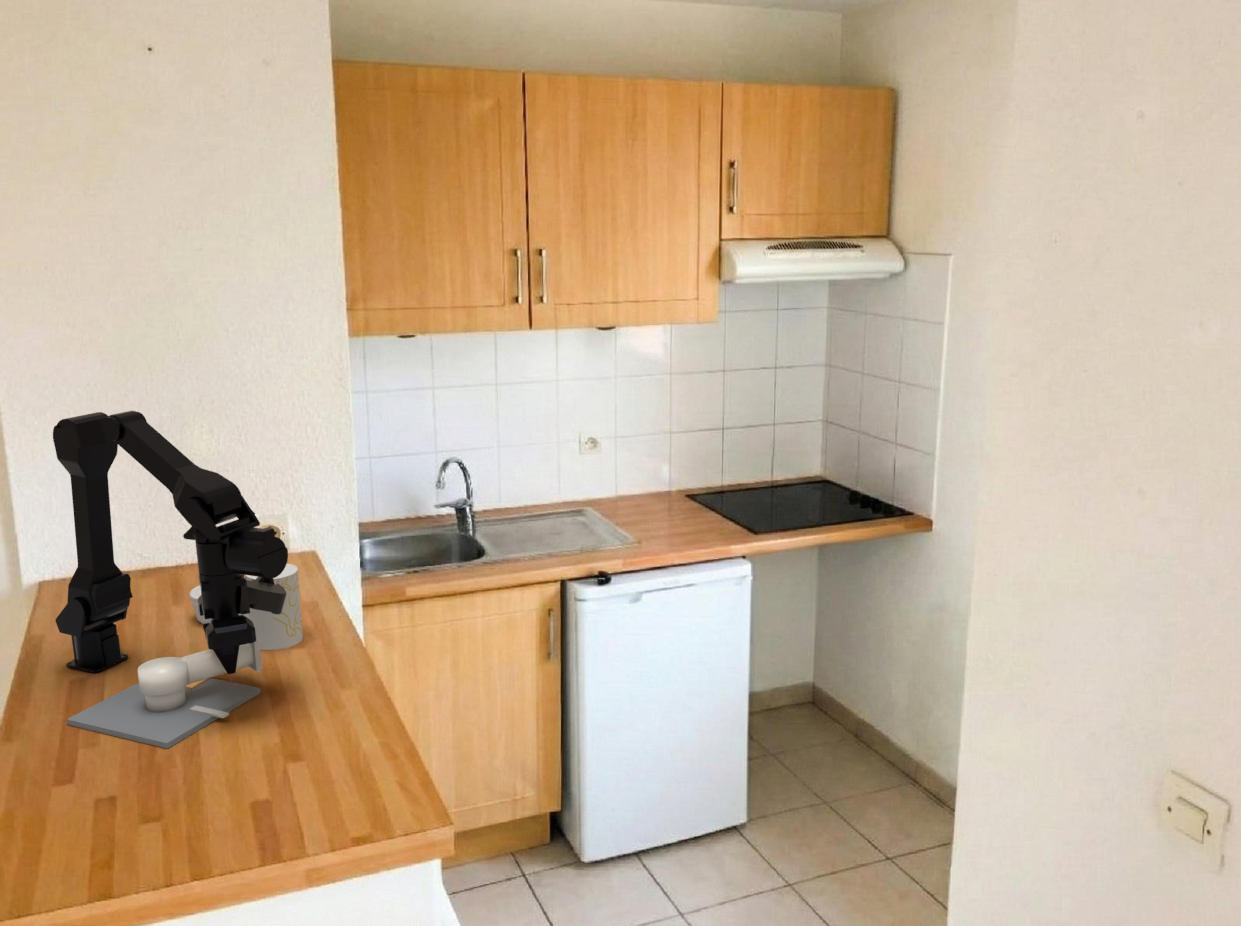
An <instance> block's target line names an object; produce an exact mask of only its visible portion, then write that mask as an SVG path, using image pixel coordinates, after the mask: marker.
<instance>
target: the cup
mask: <svg viewBox="0 0 1241 926" xmlns="http://www.w3.org/2000/svg"><path fill="white" fill-rule="evenodd" d="M244 577H245V578H246V580H250V581H252V579H254V580H256V579H257V578H258V577H257V576H250V575H244ZM273 580H274V584H275V585H277V584H280V586H282V587H284V589H285V591H286V593H287V594H286V598H285V601H284V605H283V608H282V612H281V614H272V613H271V612H268V611H262V610H256V609H252V608H250V613H249V619H250V620H251V621H252V622H253V624H254V627H255V633H256V638H257V639H258V640H259V642H260V651H277V650H284V649H288V648H292V647H294V646H296V645H298V644H299V643H301V642H302V641H303V638H304V636H303V622H302V621H303V620H302V609H301V608H302V607H301V606H302V605H301V595H300V594H301V593H300V581H299V570H298V566H297V565H294V564H292V563H287V564H286V567H285V568H284V570H283V572H282V573H281V574H280V575H279V576H277V577H275V578H273Z"/></svg>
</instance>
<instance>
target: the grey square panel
mask: <svg viewBox="0 0 1241 926" xmlns="http://www.w3.org/2000/svg"><path fill="white" fill-rule="evenodd" d="M260 694H261V687H256V686H252V685H246V684H242V683H237V682H233V681H232V682H231V681H227V680H222V679H218V678H213V677H211V678H208V679H204V680H201V681H198V682H194V683H191V684H188V685H187V686H186V687H185V688H183V689H182V690H180V691H177V692H174V693H171V694H167V695H159V696H151V695H145V694H143V693H141V692H140V687H139V682H137V683H135V684H133V685H131V686H129V687H127V688H125V689H123V690H121V691H120V692H117V693H116V694H113V695H112V696H110V697H108V698H106V699H103V700H101V701H99V702H97V703H96V704H94V705H92V706H90V707H88V708H85V709H84V710H81V711H80V712H78V713H76V714H74V715H73V716H70V717H69V718H66V724H67V725H68V726H72V727H76V728H78V729H79V728H80V729H84V730H89V731H92V732H97V733H100V734H105V735H110V736H114V737H118V738H121V739H126V740H129V741H134V742H137V743H138V742H139V743H141V744H147V745H151V746H155V747H158V748H162V749H169V748H171V747H173V746H175V745H176V744H178V743H179V742H181V741H183V740H184V739H186V738H188V737H190V736H192V735H194V733H196V732H198V731H199V730H201V729H203V728H204V727H206V726H209V724H211V723H213V722H215V721H216V720H218V719H224V718H226V717H227V716H230V712H231V711H233V710H235V709H237V708H238V707H240V706H241V705H243V704H245V703H246V702H249V701H250V700H251V699H253V698H254V697H255V698H256V697H257V696H258V695H260Z"/></svg>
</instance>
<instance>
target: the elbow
mask: <svg viewBox="0 0 1241 926" xmlns="http://www.w3.org/2000/svg"><path fill="white" fill-rule="evenodd" d="M246 667H249V668H250V669H251V670H254V672H260V671H263V668H262V656H261V649H260V642H259V640H258V639H257V638H256V641H255V642H253V643H250V644H244V645H240V646H239V652H238V659H237V666H236V671H237V670H240V669H243V668H246ZM224 674H227V672H226V670H225V669H224V667H223V665H222V664H221V662H220V660H219V659H218V657H217V655H216V654H215V652H214V651H213V650H212V649H209V648H208V649H206V650H202V651H199V652H194V653H192V654H188V655H184V656H181V657H178V656H163V657H157V658H153V659H150V660H148V661H145V662H144V663H142V664H140V665H139V666H138V668H137V676H138V677H137V678H138V683H139V687H140V692H141V693H143V694H145V695H151V696H159V695H167V694H171V693H174V692H177V691H180V690H182V689H183V688H185V687H186V686H187V685H188V684H191V683H194V682H198V681H201V680H204V679H208V678H211V677H212V678H213V677H216V676H217V677H218V676H220V675H224Z"/></svg>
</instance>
